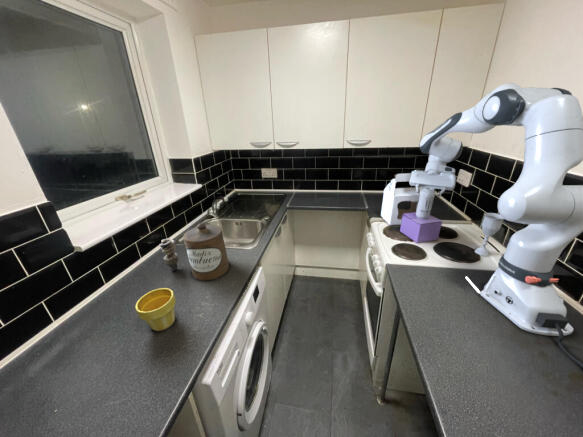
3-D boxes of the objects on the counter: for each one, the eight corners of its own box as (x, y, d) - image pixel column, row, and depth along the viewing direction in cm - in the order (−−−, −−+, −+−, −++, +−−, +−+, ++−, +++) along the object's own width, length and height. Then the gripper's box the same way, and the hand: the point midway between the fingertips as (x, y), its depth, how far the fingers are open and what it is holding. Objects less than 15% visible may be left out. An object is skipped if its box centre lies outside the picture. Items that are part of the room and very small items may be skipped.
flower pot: (140, 324, 73) (130, 300, 69) (172, 305, 80) (165, 283, 76) (151, 343, 67) (141, 318, 63) (186, 320, 74) (179, 297, 70)
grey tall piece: (169, 267, 101) (160, 237, 95) (182, 265, 102) (174, 235, 96) (166, 275, 96) (156, 244, 90) (180, 272, 97) (171, 241, 91)
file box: (437, 239, 115) (442, 220, 111) (416, 242, 113) (420, 223, 108) (419, 228, 126) (422, 211, 122) (399, 231, 124) (402, 213, 120)
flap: (442, 221, 111) (442, 220, 111) (420, 224, 109) (420, 223, 108) (431, 216, 116) (432, 216, 116) (411, 219, 114) (411, 218, 114)
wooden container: (187, 282, 91) (174, 233, 82) (199, 260, 105) (188, 216, 96) (225, 279, 92) (215, 230, 83) (231, 258, 106) (224, 214, 97)
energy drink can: (419, 220, 112) (426, 190, 106) (412, 214, 118) (418, 187, 111) (431, 219, 113) (439, 190, 106) (424, 214, 118) (430, 186, 112)
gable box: (415, 214, 144) (424, 169, 132) (427, 223, 132) (438, 175, 120) (380, 215, 143) (386, 171, 132) (389, 224, 131) (396, 176, 120)
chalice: (485, 248, 106) (498, 212, 98) (495, 257, 99) (510, 219, 92) (468, 248, 106) (479, 212, 99) (477, 256, 100) (490, 219, 93)
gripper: (412, 165, 122) (405, 188, 118) (459, 169, 111) (452, 194, 107) (412, 172, 127) (405, 194, 123) (457, 176, 116) (451, 200, 112)
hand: (428, 194), depth 115 cm, fingers open, 8 cm apart
